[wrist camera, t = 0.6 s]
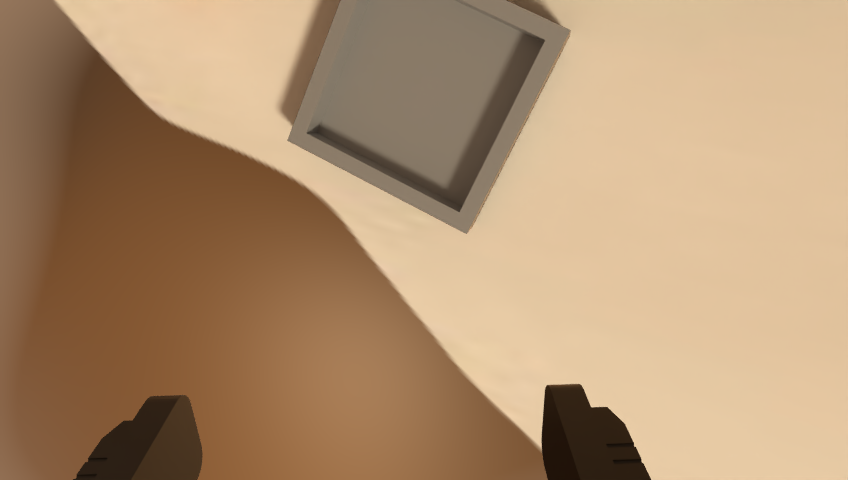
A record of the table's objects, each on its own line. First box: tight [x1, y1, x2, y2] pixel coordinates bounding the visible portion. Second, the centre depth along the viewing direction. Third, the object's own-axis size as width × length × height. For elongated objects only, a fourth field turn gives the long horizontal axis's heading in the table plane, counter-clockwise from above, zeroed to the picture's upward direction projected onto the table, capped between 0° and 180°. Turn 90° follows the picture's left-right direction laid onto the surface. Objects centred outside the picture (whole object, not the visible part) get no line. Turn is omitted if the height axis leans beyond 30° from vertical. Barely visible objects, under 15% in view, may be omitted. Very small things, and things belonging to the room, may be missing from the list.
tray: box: [287, 0, 570, 234], centre depth 35 cm, size 13×13×2 cm
